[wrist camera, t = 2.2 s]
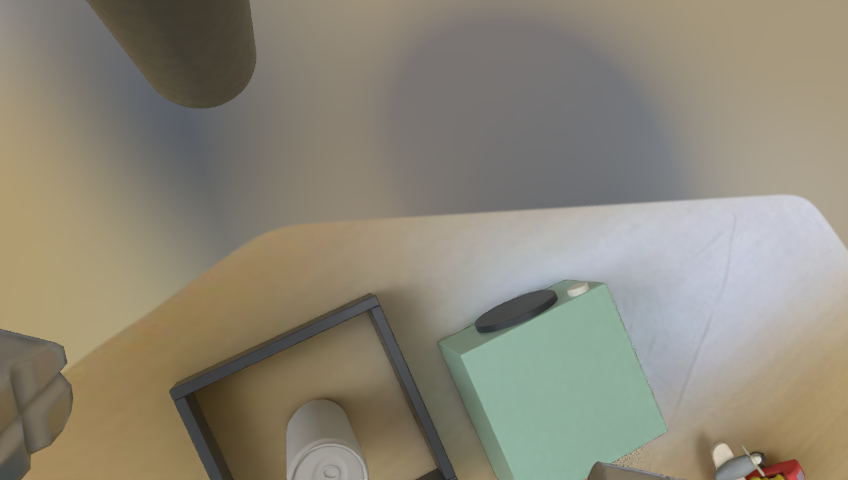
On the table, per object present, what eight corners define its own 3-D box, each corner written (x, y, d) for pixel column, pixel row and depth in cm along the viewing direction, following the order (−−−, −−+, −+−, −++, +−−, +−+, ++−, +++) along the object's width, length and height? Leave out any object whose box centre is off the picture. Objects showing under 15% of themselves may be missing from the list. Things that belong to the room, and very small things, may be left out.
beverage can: (281, 458, 49) (280, 521, 37) (291, 394, 49) (294, 436, 37) (345, 464, 50) (363, 527, 38) (354, 401, 50) (376, 444, 38)
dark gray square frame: (175, 382, 47) (168, 391, 44) (370, 292, 50) (375, 294, 48) (264, 572, 48) (263, 592, 45) (450, 472, 51) (460, 485, 48)
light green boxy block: (434, 336, 51) (457, 348, 45) (563, 273, 54) (603, 276, 47) (496, 477, 52) (528, 510, 45) (620, 409, 55) (668, 431, 48)
